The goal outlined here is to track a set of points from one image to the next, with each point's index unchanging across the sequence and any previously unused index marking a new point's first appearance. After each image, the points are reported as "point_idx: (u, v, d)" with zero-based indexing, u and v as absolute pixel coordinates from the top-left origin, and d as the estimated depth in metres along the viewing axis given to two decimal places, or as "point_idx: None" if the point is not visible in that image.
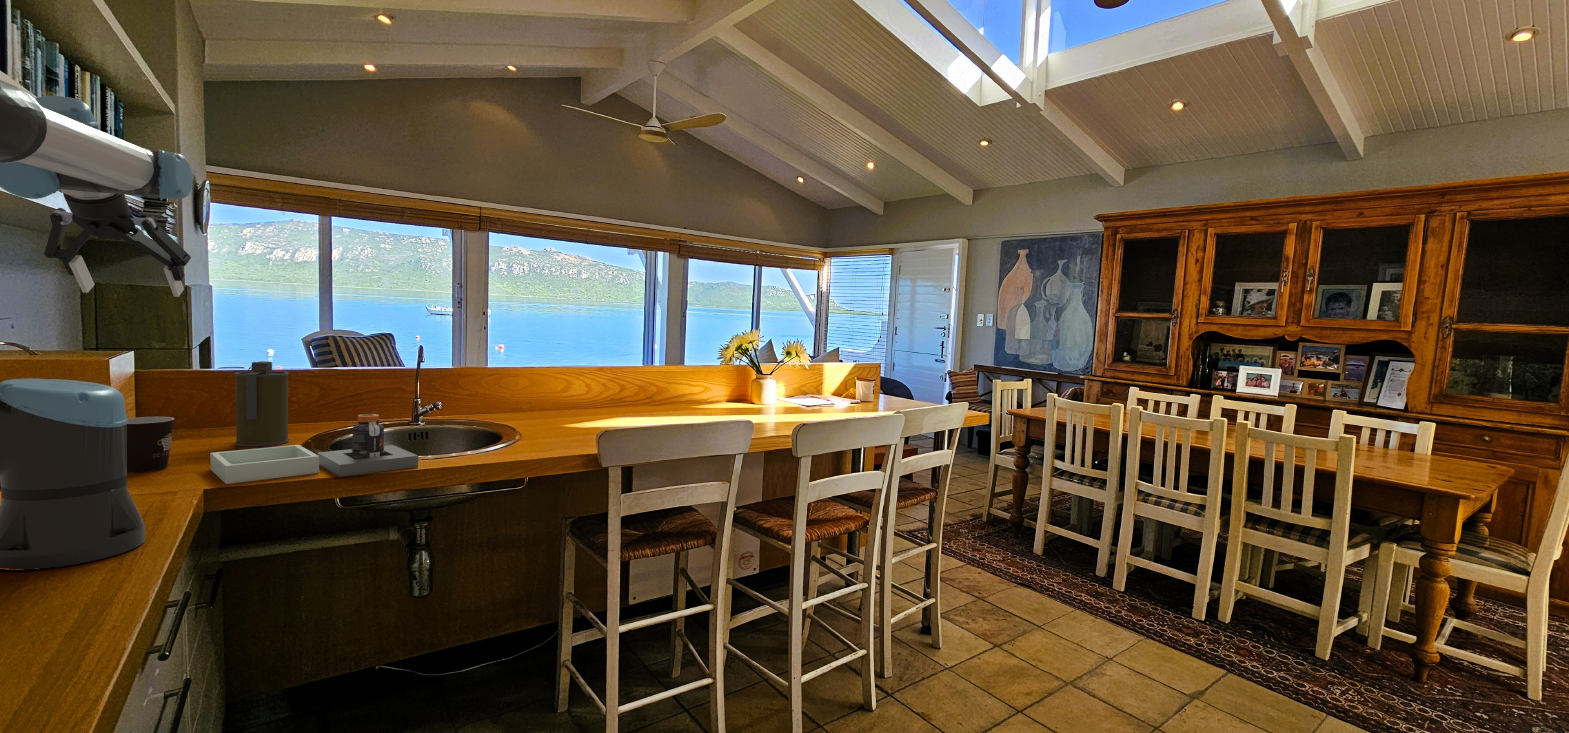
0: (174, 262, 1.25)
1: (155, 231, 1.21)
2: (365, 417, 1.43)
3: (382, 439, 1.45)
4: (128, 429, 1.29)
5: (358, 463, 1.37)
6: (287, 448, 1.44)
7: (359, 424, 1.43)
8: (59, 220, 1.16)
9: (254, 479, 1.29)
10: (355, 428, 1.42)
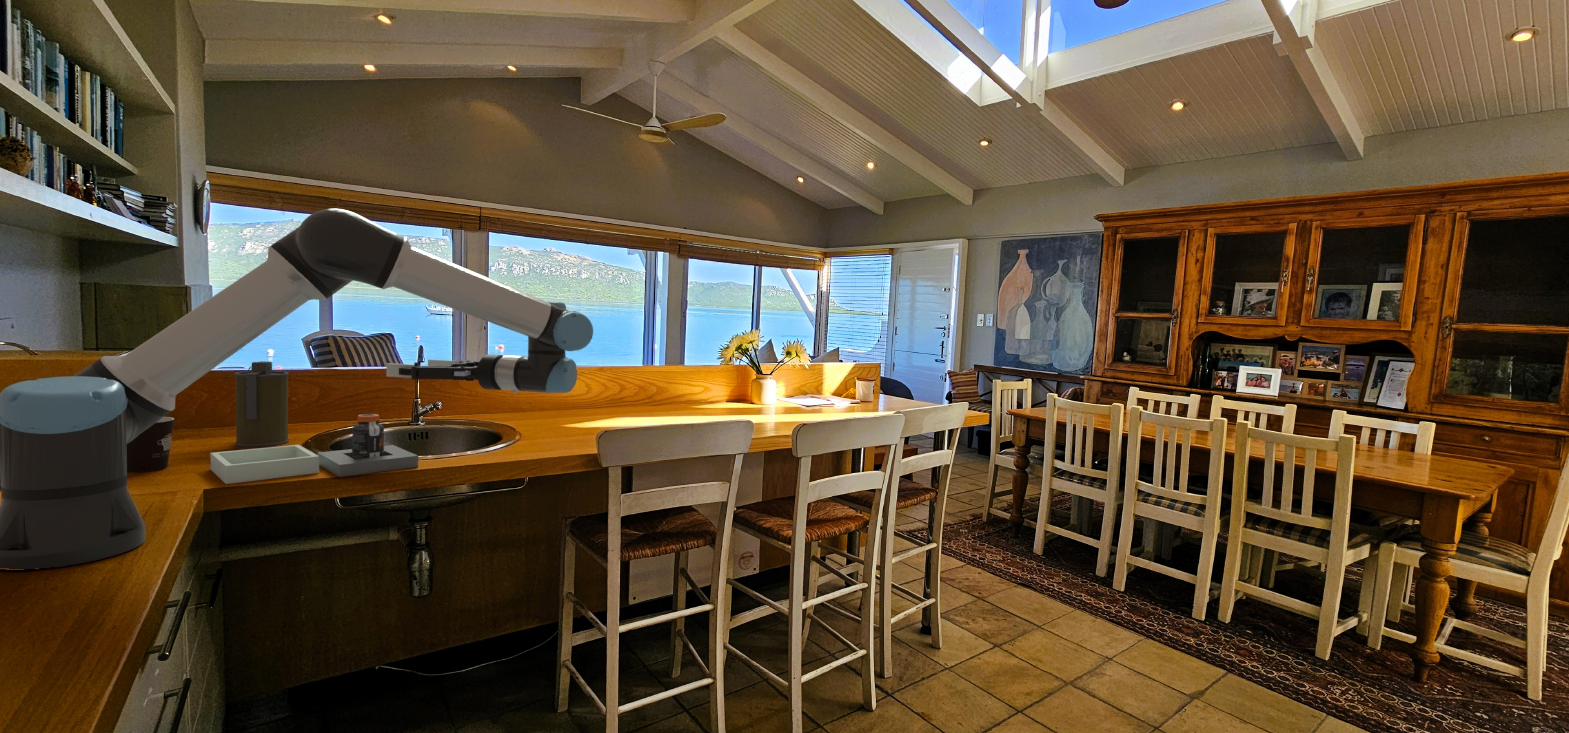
0: None
1: (452, 370, 1.35)
2: (365, 417, 1.43)
3: (382, 439, 1.45)
4: None
5: (358, 463, 1.37)
6: (287, 448, 1.44)
7: (359, 424, 1.43)
8: None
9: (254, 479, 1.29)
10: (355, 428, 1.42)
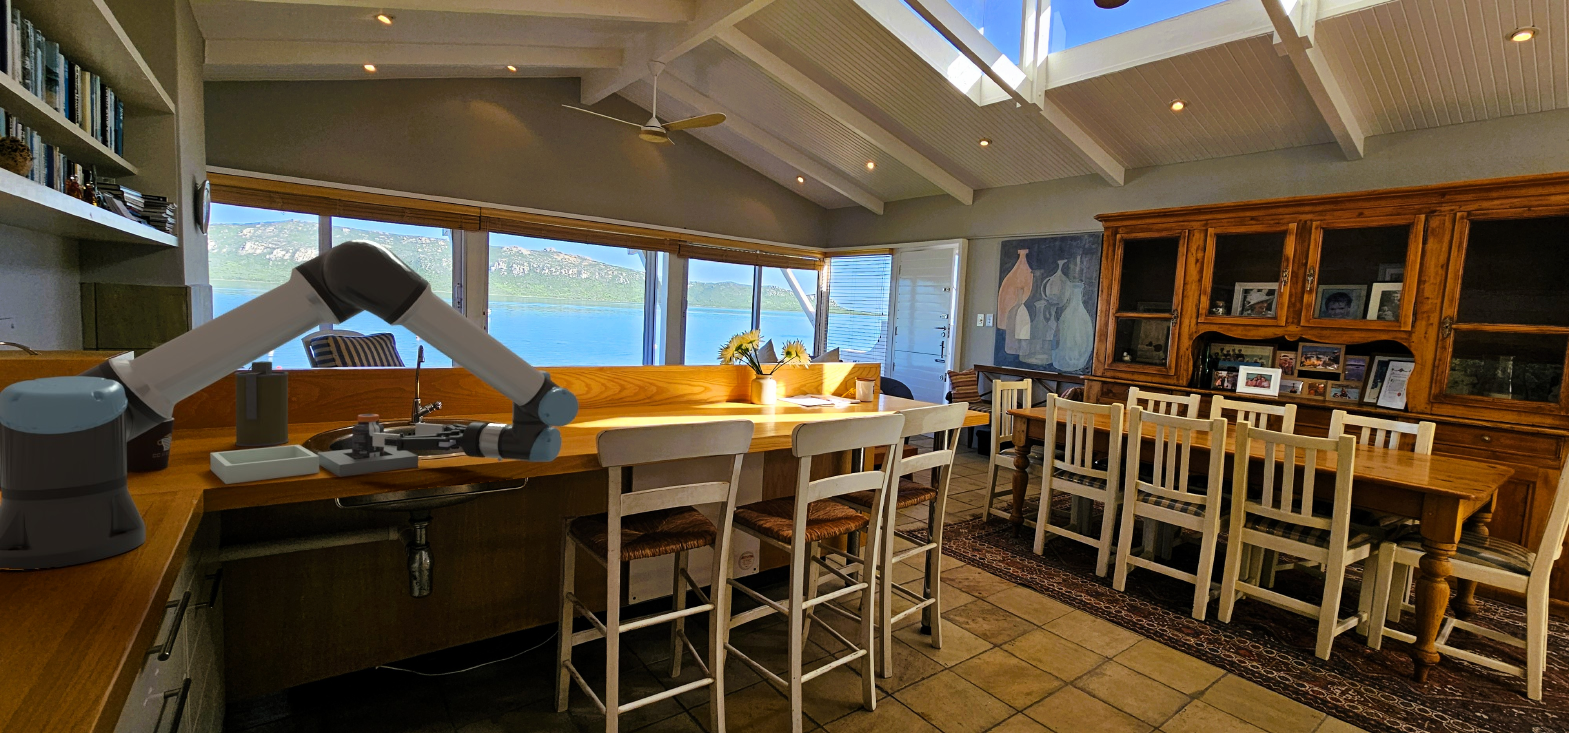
0: None
1: (437, 440, 1.36)
2: (365, 417, 1.43)
3: None
4: None
5: (358, 463, 1.37)
6: (287, 448, 1.44)
7: (359, 424, 1.43)
8: None
9: (254, 479, 1.29)
10: (355, 428, 1.42)
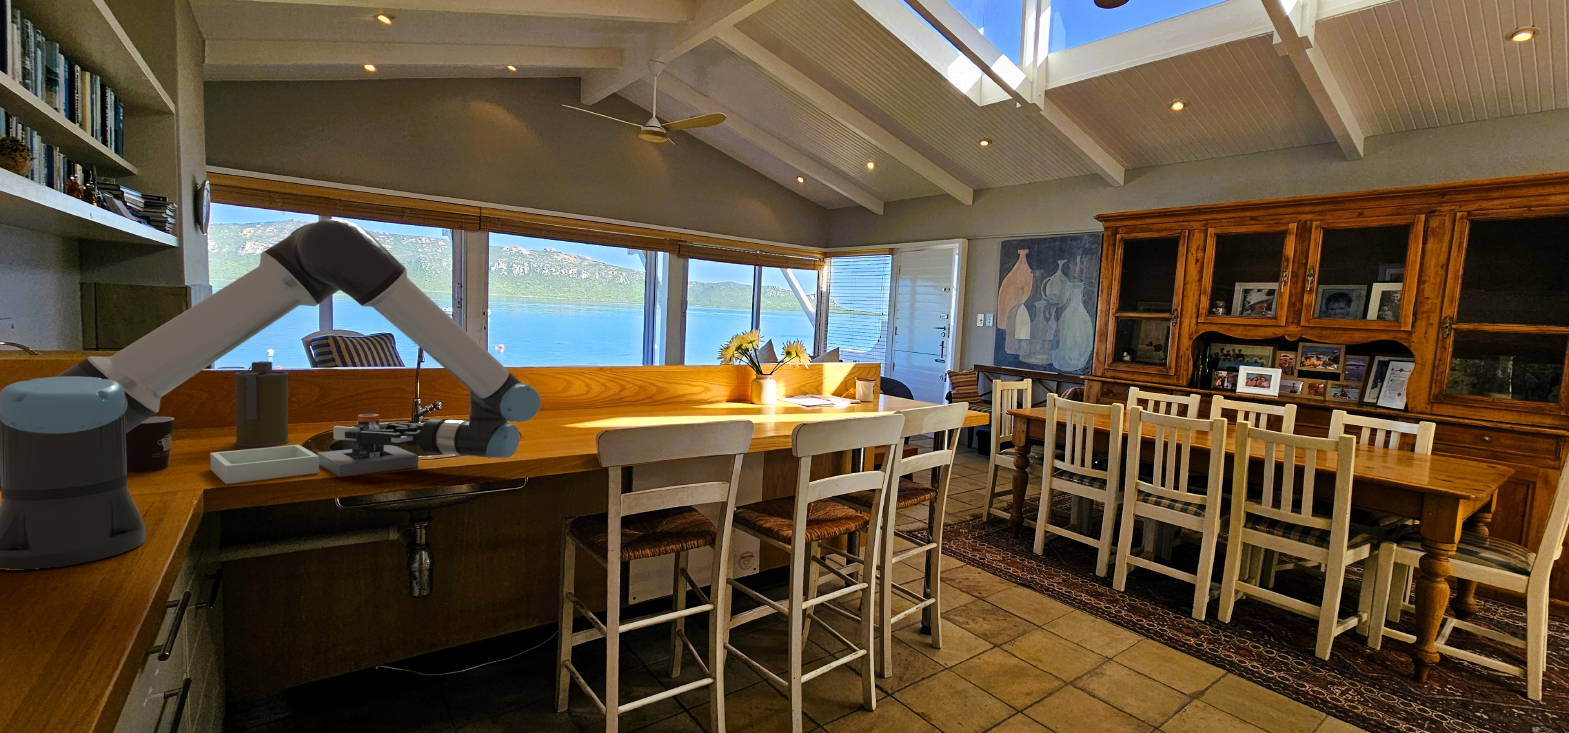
0: None
1: (389, 436, 1.38)
2: (365, 417, 1.43)
3: None
4: None
5: (358, 463, 1.37)
6: (287, 448, 1.44)
7: (359, 424, 1.43)
8: None
9: (254, 479, 1.29)
10: None
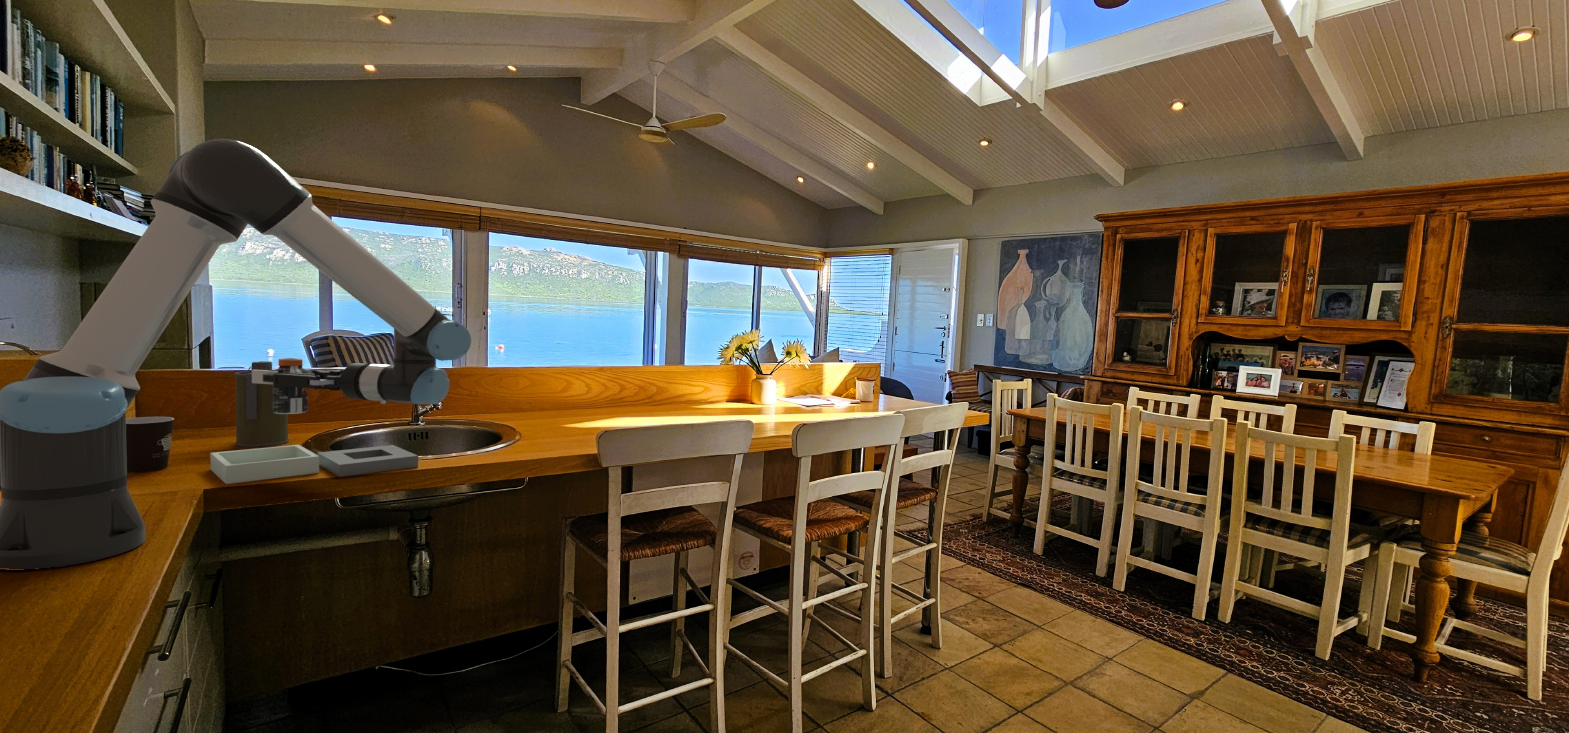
0: None
1: (307, 378, 1.30)
2: (286, 360, 1.35)
3: None
4: (128, 429, 1.29)
5: (358, 463, 1.37)
6: (287, 448, 1.44)
7: (280, 368, 1.36)
8: None
9: (254, 479, 1.29)
10: None
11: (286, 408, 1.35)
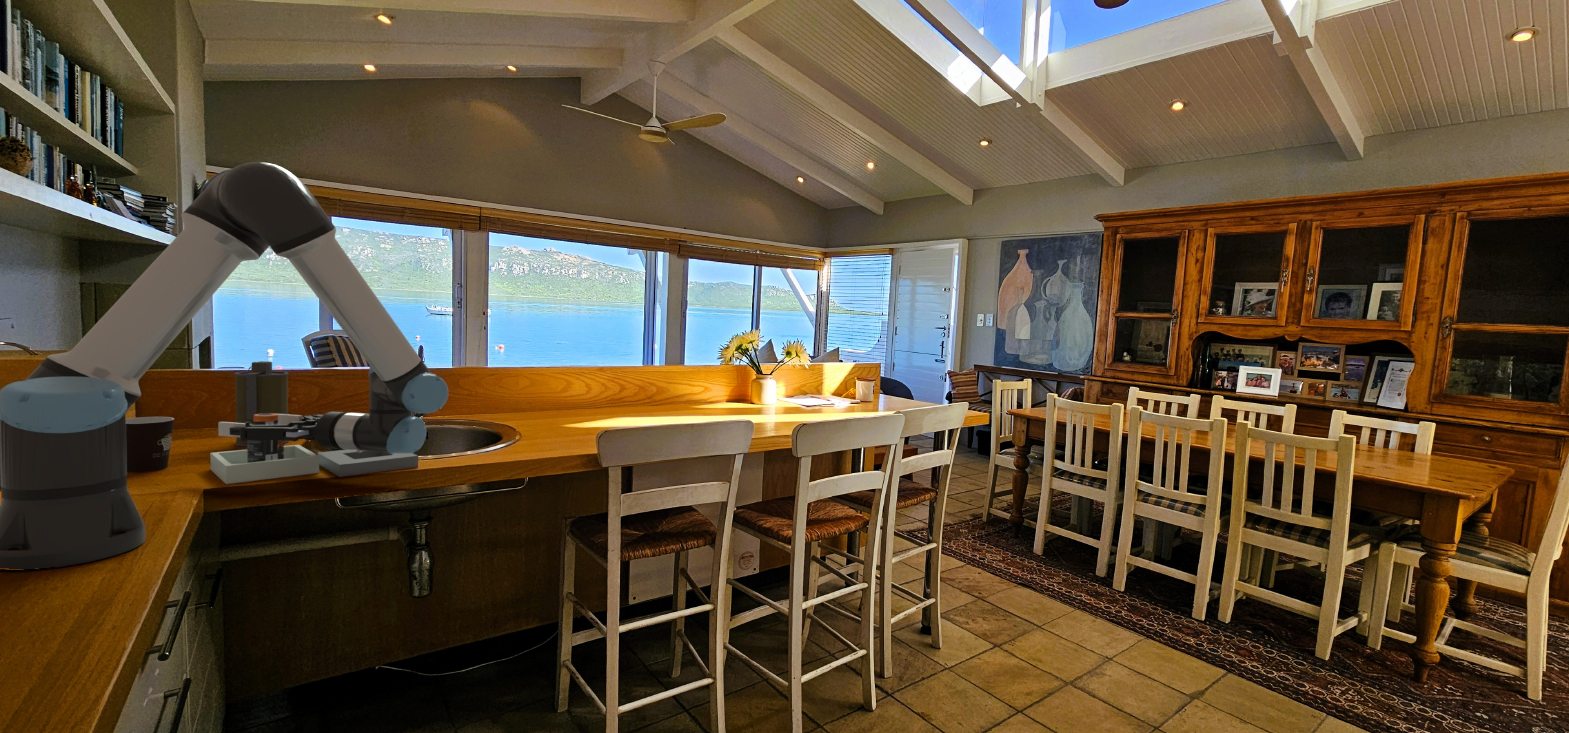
0: None
1: (283, 430, 1.28)
2: (261, 416, 1.34)
3: (281, 440, 1.37)
4: (128, 429, 1.29)
5: (358, 463, 1.37)
6: (287, 448, 1.44)
7: (255, 424, 1.34)
8: None
9: (254, 479, 1.29)
10: None
11: None
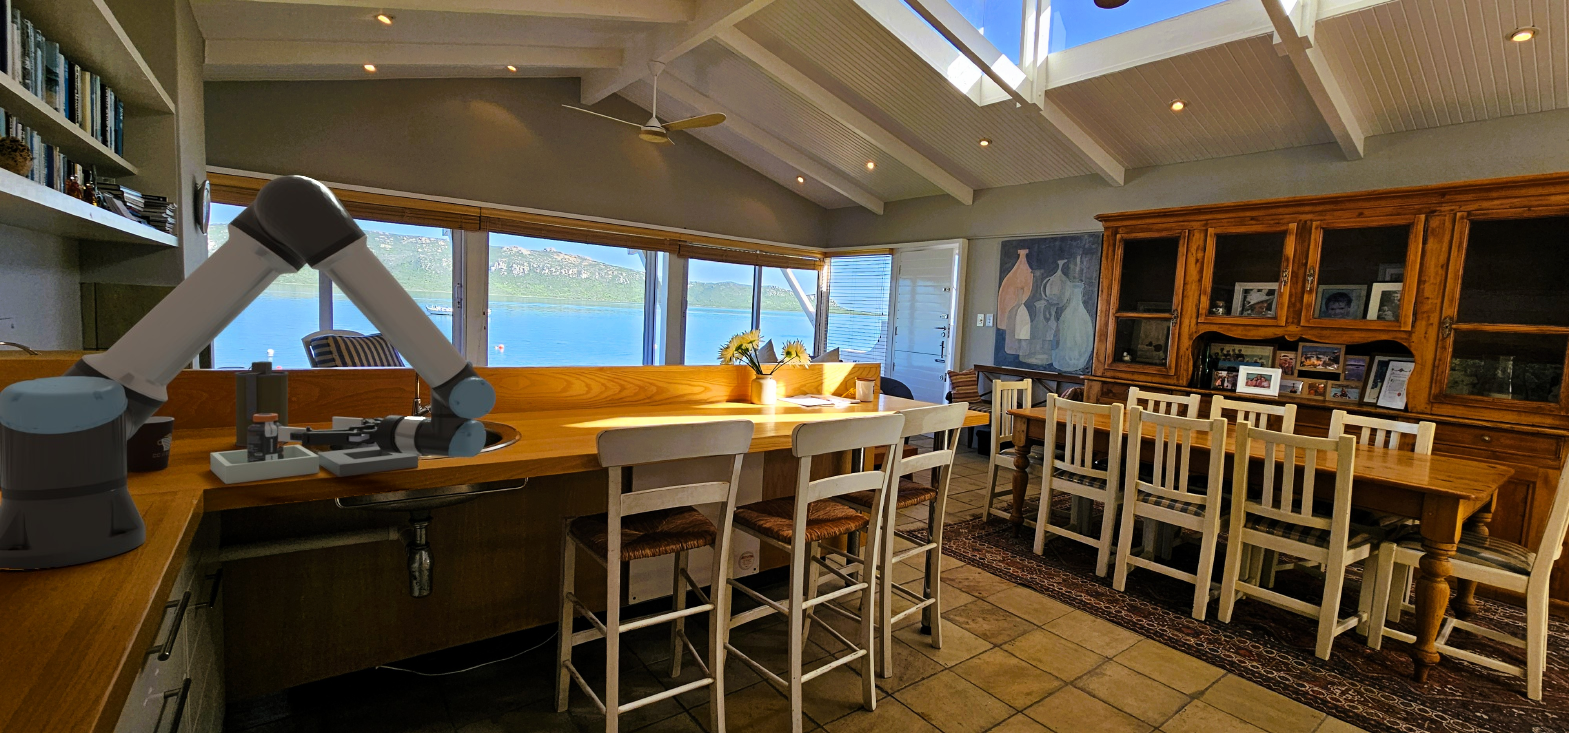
0: None
1: (347, 435, 1.27)
2: (261, 417, 1.34)
3: None
4: None
5: (358, 463, 1.37)
6: (287, 448, 1.44)
7: (254, 424, 1.34)
8: None
9: (254, 479, 1.29)
10: (249, 428, 1.33)
11: None
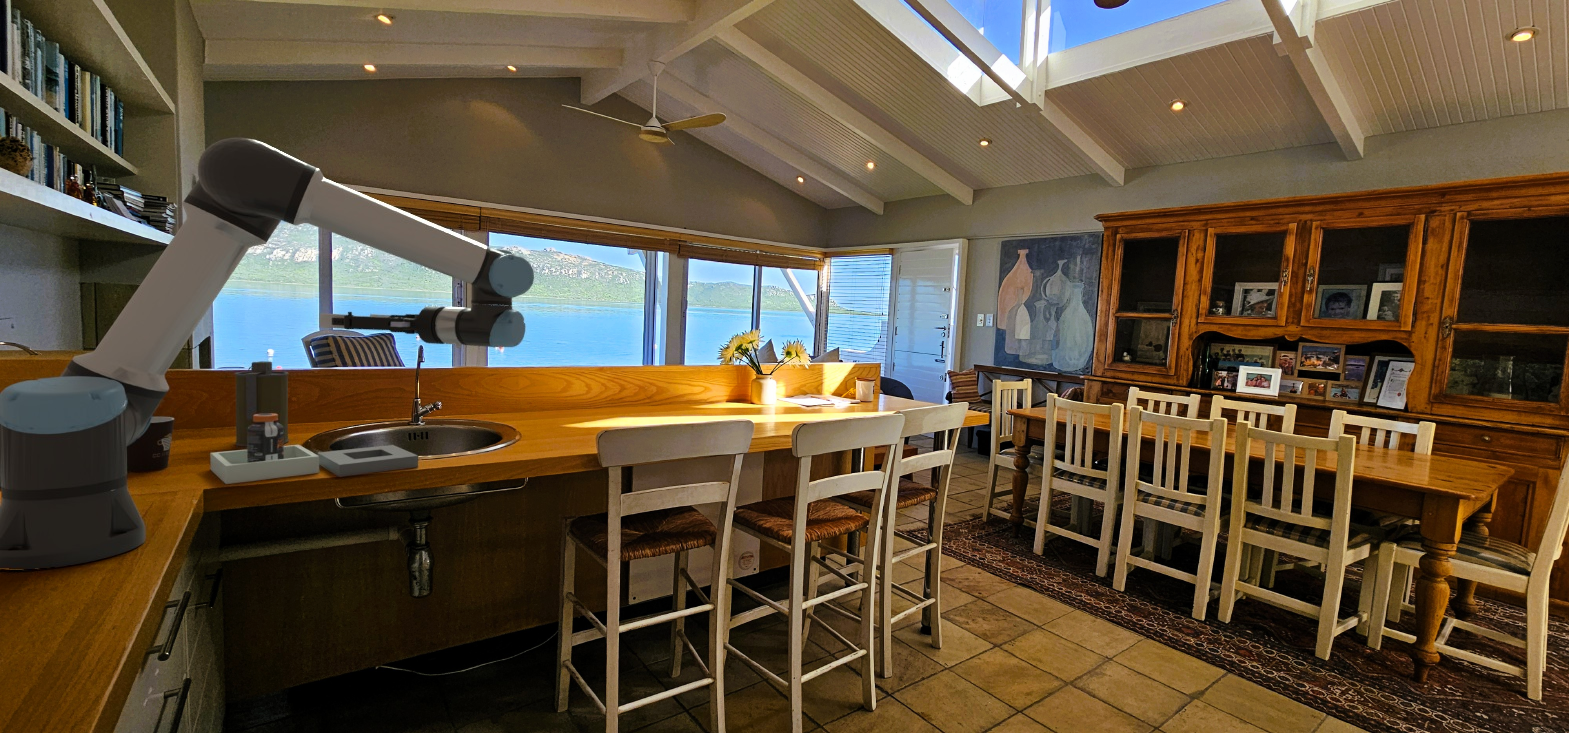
0: None
1: (388, 320, 1.26)
2: (261, 417, 1.34)
3: (281, 440, 1.37)
4: None
5: (358, 463, 1.37)
6: (287, 448, 1.44)
7: (254, 424, 1.34)
8: None
9: (254, 479, 1.29)
10: (250, 428, 1.33)
11: None
